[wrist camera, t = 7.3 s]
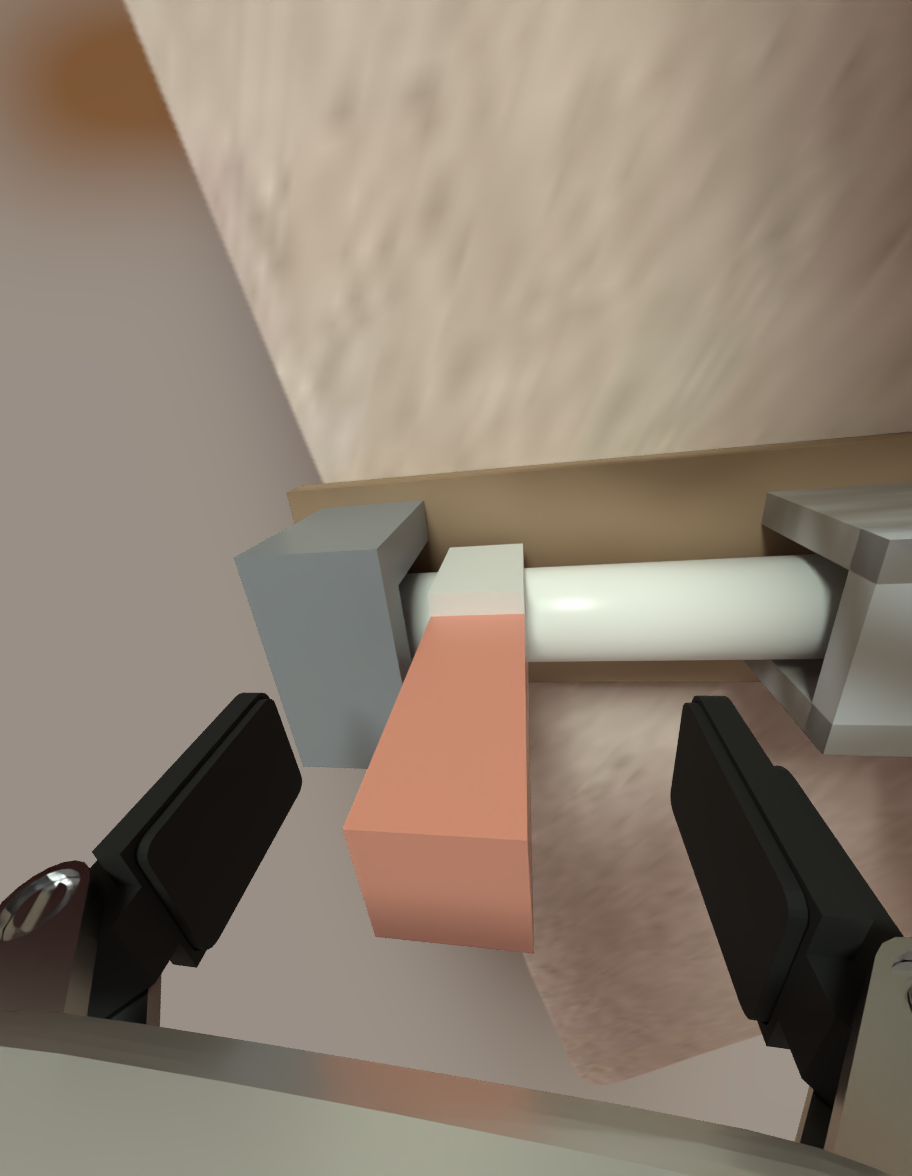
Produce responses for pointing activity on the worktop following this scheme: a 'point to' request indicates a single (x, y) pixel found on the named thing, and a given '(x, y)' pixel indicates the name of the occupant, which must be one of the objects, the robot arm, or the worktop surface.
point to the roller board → (710, 555)
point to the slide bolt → (501, 711)
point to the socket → (336, 623)
